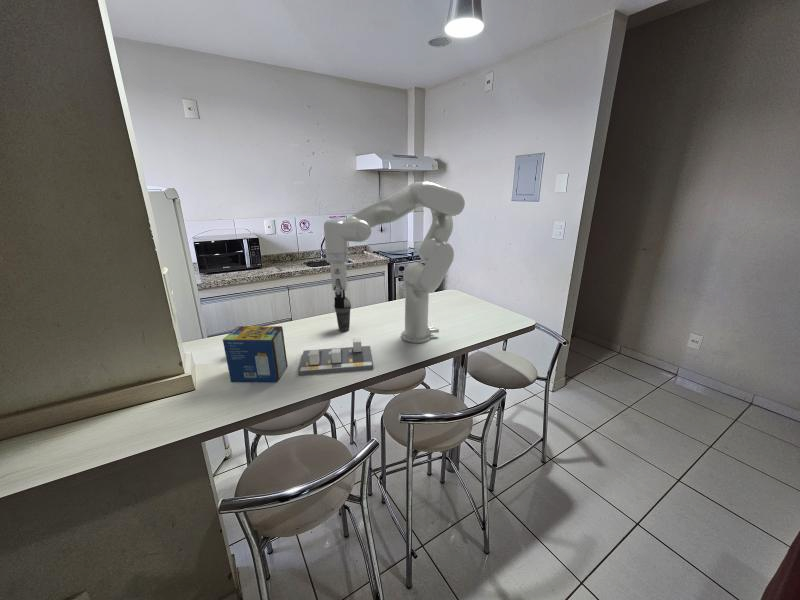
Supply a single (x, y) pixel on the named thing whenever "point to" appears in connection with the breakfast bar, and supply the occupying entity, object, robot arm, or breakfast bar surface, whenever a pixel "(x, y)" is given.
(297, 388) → the breakfast bar surface
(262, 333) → the protein box
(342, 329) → the beverage cup
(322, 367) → the switch panel
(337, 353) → the switch middle
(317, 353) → the switch
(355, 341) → the switch
